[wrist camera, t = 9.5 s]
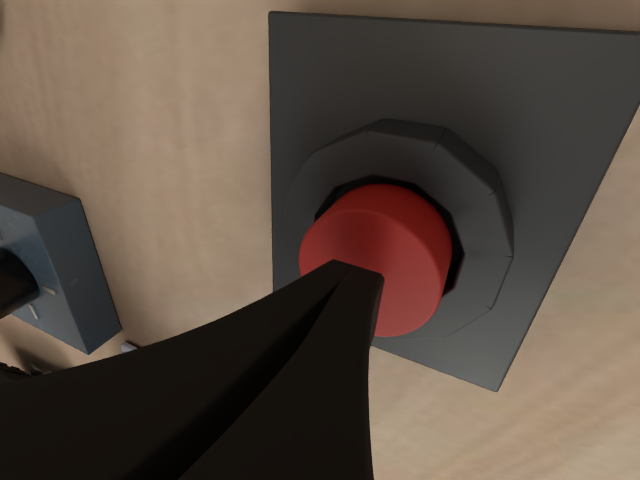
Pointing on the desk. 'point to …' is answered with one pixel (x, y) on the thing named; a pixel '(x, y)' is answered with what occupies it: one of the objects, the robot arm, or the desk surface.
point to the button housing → (451, 154)
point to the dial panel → (57, 264)
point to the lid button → (386, 250)
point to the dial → (14, 284)
